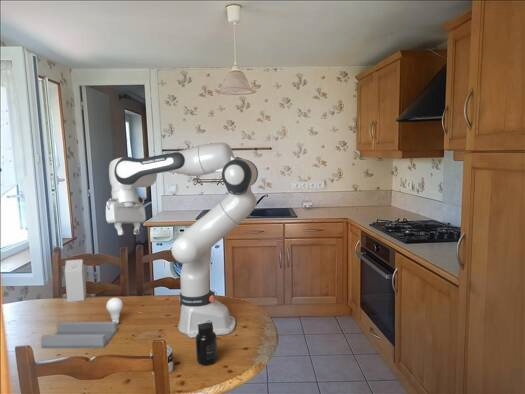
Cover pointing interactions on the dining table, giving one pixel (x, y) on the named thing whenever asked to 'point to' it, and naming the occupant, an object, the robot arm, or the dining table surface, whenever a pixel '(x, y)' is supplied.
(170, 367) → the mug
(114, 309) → the lightbulb
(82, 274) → the milk carton
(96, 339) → the trough
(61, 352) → the dining table surface
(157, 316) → the dining table surface
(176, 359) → the dining table surface
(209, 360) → the supplement bottle
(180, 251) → the robot arm
